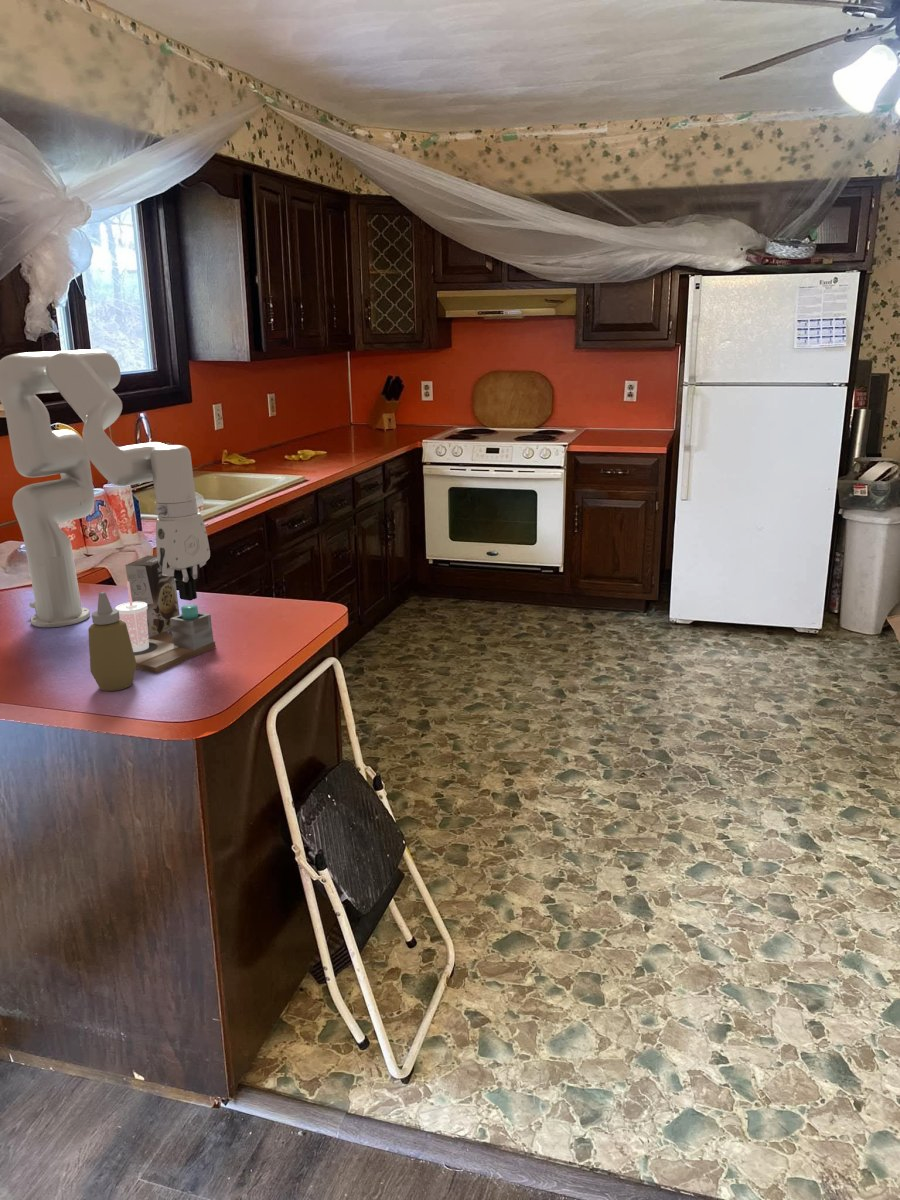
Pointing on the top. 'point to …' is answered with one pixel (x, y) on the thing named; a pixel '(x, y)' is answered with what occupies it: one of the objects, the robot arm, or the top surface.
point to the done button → (189, 612)
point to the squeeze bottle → (110, 648)
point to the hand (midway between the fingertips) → (188, 598)
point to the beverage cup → (135, 622)
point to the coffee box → (153, 593)
